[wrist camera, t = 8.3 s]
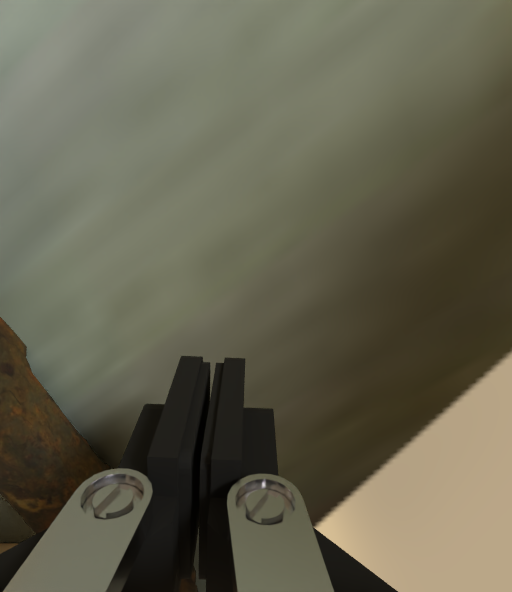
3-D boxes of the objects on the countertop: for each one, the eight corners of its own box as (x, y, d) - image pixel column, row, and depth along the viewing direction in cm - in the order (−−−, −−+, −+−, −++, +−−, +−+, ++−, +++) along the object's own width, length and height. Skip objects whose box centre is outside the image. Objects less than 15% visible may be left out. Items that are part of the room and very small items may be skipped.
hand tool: (205, 557, 22) (198, 656, 18) (135, 586, 23) (110, 691, 18) (-22, 211, 17) (-114, 229, 12) (-110, 256, 17) (-230, 289, 13)
